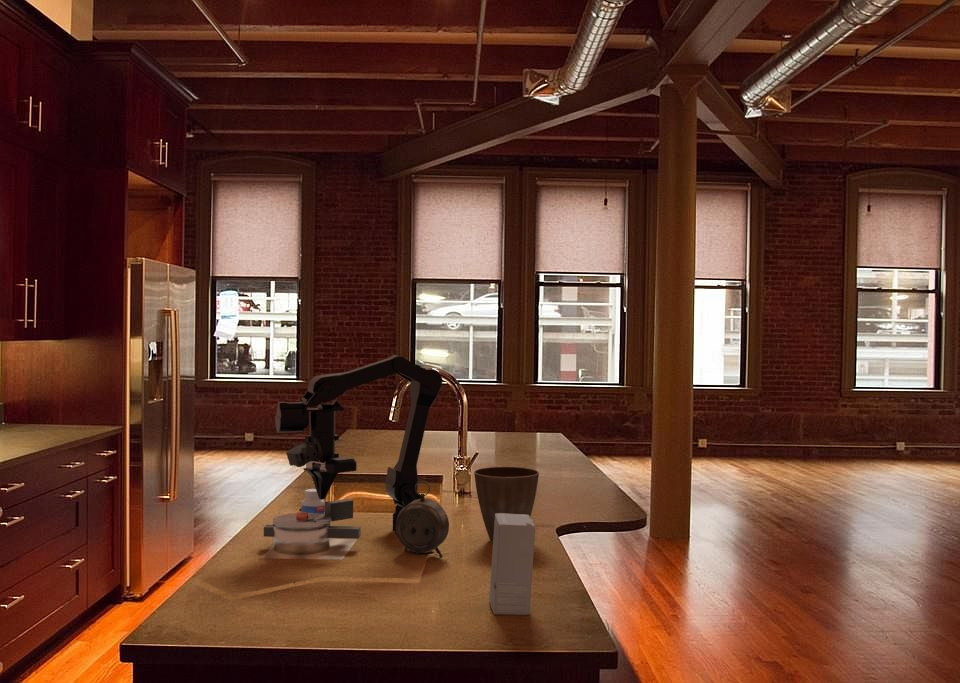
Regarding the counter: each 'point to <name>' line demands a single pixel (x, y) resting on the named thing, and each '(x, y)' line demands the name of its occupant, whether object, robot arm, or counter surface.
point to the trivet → (334, 553)
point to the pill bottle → (312, 502)
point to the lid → (316, 516)
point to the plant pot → (505, 492)
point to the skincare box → (512, 564)
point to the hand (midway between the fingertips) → (321, 499)
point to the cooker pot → (308, 538)
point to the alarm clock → (422, 525)
